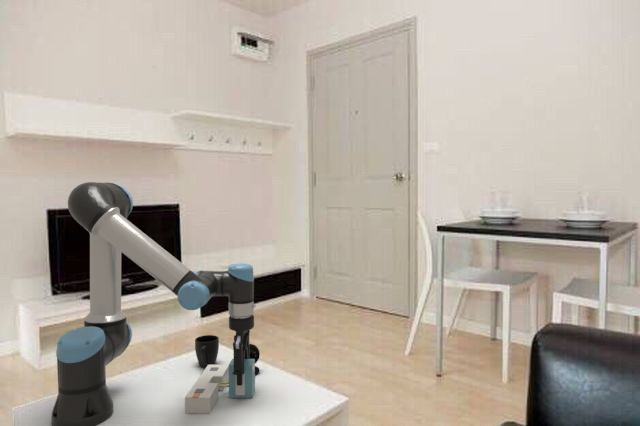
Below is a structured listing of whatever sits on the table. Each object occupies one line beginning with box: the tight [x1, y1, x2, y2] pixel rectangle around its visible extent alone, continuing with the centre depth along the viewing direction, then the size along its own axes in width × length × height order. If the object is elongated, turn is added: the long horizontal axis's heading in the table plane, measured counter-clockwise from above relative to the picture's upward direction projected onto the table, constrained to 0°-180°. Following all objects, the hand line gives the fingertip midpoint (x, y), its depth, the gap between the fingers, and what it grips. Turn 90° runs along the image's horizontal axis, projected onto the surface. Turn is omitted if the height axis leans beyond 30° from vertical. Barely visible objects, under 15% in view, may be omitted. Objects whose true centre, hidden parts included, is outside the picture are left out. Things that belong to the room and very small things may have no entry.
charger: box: [219, 358, 256, 399], centre depth 138 cm, size 10×5×10 cm, turn 88°
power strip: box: [184, 364, 229, 414], centre depth 142 cm, size 7×32×5 cm, turn 178°
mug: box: [194, 334, 220, 369], centre depth 160 cm, size 8×12×10 cm
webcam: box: [249, 343, 260, 376], centre depth 154 cm, size 8×8×10 cm
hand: (242, 390), depth 138 cm, fingers closed on charger, 5 cm apart
